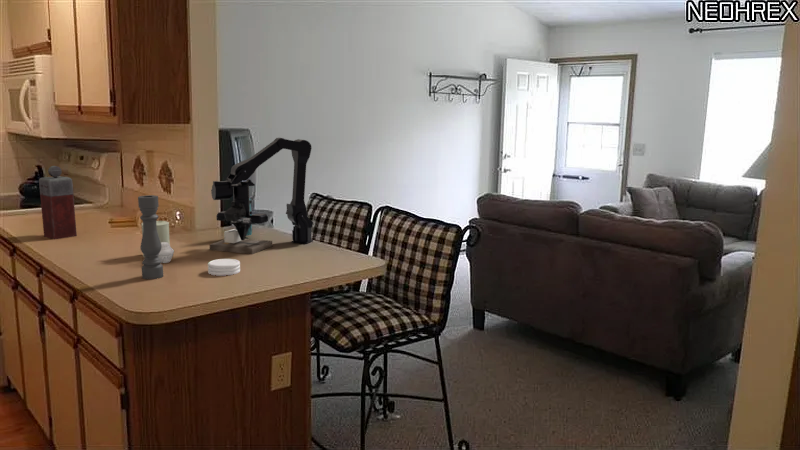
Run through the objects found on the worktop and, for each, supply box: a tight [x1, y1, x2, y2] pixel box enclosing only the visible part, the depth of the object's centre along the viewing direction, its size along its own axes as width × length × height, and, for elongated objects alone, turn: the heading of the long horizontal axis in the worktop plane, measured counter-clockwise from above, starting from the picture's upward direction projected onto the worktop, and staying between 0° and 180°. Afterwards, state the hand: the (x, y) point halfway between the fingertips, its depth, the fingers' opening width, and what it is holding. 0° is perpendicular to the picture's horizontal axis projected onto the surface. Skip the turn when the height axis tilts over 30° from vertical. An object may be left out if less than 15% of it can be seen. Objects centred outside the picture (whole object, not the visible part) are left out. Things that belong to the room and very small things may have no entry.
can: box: [140, 220, 171, 258], centre depth 228 cm, size 9×9×12 cm
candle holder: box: [137, 194, 164, 280], centre depth 199 cm, size 6×6×25 cm
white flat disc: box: [207, 258, 241, 277], centre depth 207 cm, size 10×10×4 cm
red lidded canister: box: [38, 165, 78, 240], centre depth 257 cm, size 9×11×28 cm
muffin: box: [158, 242, 175, 264], centre depth 219 cm, size 6×6×7 cm
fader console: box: [209, 238, 273, 255], centre depth 242 cm, size 18×14×2 cm
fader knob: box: [223, 228, 242, 243], centre depth 242 cm, size 4×6×4 cm, turn 161°
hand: (242, 240), depth 241 cm, fingers closed
